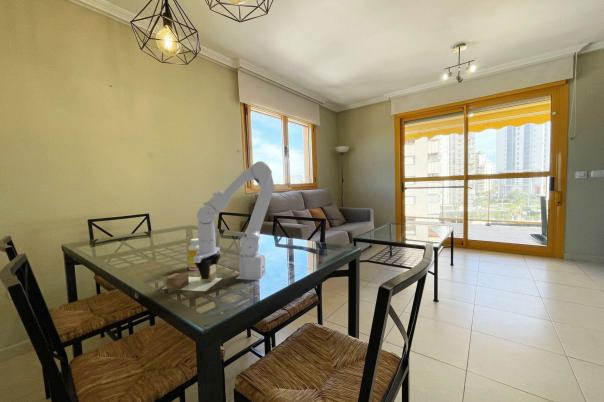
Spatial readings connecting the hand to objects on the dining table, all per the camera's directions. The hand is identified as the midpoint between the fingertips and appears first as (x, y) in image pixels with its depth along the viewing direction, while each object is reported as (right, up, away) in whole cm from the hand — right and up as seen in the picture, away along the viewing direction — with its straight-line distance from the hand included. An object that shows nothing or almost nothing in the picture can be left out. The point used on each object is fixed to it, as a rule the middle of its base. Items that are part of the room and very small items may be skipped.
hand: (208, 276), depth 91 cm
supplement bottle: (-11, -2, +16) cm, 19 cm away
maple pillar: (0, -1, 0) cm, 1 cm away
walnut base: (-9, -2, -5) cm, 10 cm away
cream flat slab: (-4, -2, -2) cm, 5 cm away
